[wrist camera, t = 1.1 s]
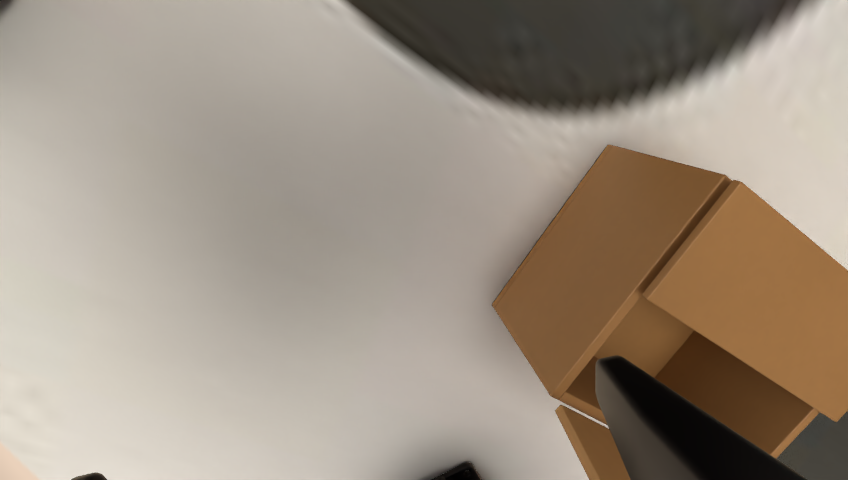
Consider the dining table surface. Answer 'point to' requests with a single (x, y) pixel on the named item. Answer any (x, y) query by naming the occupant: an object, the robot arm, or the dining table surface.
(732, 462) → the robot arm
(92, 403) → the dining table surface
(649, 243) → the carton
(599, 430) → the flap
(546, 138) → the dining table surface
